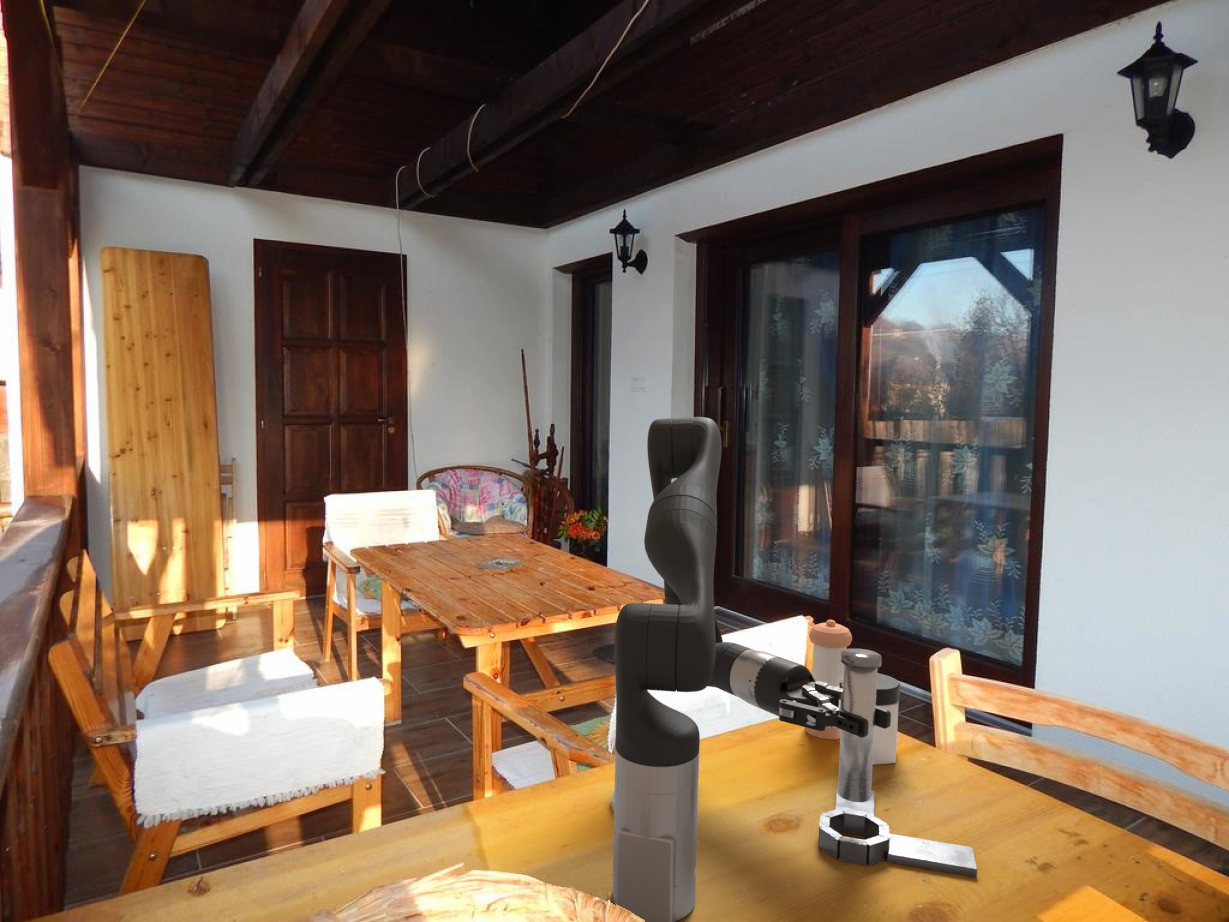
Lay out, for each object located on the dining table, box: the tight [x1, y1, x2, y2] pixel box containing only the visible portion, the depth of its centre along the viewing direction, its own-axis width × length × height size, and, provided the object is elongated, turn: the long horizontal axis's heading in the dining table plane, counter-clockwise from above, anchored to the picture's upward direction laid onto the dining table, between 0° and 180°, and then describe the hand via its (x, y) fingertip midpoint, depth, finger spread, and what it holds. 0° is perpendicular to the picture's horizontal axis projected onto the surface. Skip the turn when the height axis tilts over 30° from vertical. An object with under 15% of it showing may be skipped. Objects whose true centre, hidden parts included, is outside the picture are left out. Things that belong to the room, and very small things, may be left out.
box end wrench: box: [817, 784, 978, 878], centre depth 106 cm, size 18×18×2 cm
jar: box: [872, 672, 901, 766], centre depth 129 cm, size 9×8×12 cm
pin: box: [837, 648, 882, 802], centre depth 102 cm, size 5×5×18 cm
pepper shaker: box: [804, 619, 853, 741], centre depth 138 cm, size 7×7×19 cm
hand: (877, 724), depth 99 cm, fingers closed on pin, 4 cm apart
